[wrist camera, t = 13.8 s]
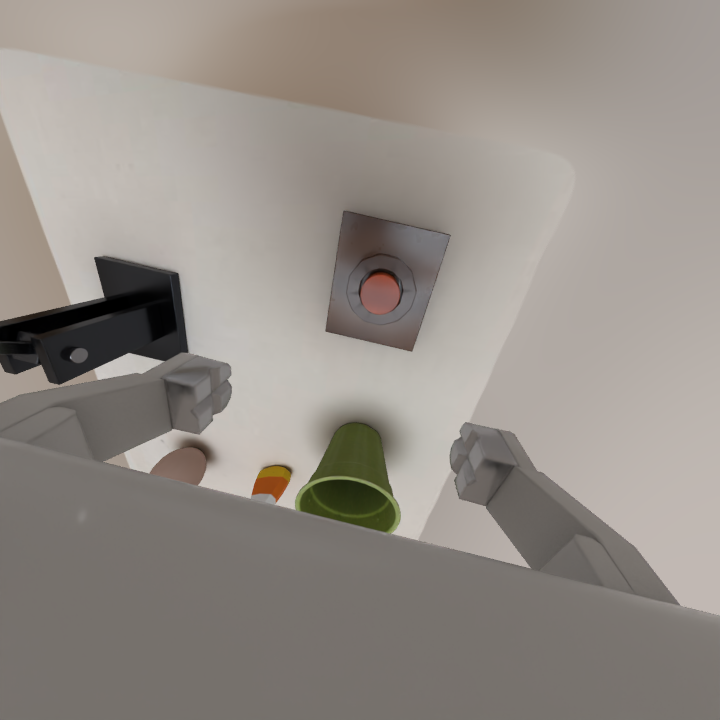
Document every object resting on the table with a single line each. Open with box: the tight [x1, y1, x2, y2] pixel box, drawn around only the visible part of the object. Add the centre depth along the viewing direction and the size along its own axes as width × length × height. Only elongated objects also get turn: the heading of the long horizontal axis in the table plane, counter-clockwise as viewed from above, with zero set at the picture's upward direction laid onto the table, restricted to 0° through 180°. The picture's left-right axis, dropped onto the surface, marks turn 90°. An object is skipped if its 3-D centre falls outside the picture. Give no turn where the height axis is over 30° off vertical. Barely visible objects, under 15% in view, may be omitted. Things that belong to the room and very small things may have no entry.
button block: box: [326, 211, 451, 351], centre depth 26 cm, size 12×10×4 cm
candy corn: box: [251, 466, 291, 505], centre depth 40 cm, size 6×3×8 cm, turn 103°
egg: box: [149, 447, 206, 486], centre depth 39 cm, size 7×7×10 cm
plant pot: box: [295, 423, 401, 534], centre depth 34 cm, size 12×12×11 cm
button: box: [360, 272, 400, 315], centre depth 24 cm, size 4×4×2 cm
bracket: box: [0, 256, 188, 385], centre depth 27 cm, size 12×9×13 cm
